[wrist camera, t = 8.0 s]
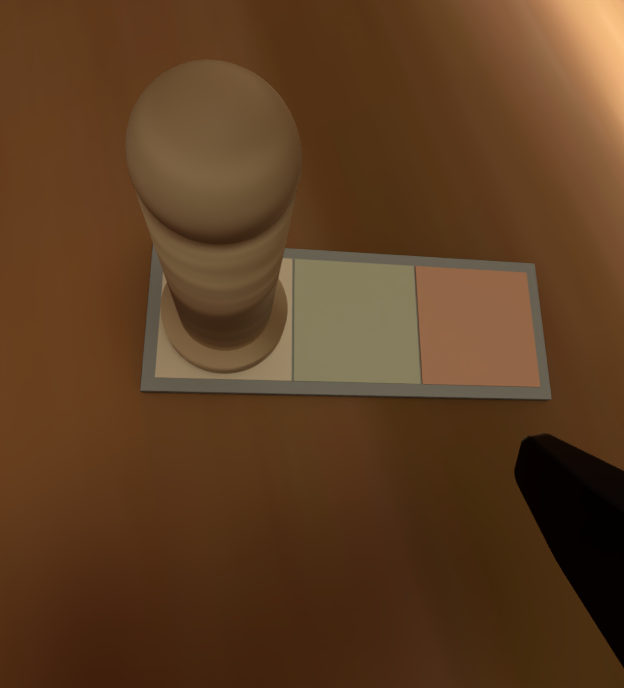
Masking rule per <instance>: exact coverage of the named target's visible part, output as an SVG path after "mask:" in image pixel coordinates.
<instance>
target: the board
mask: <svg viewBox="0 0 624 688" xmlns="http://www.w3.org/2000/svg"><path fill="white" fill-rule="evenodd" d="M279 280H280V281H281V283H282V285H283V288H284V290H285V294H286V297H287V304H288V313H287V320H286V324H285V327H284V331H283V334H282V336H281V339H280V341H279V343H278V345H277V346H276V348H275V349H274V350H273V352H272V353H271V354H270V355H269V356H268V357H267V358H266V359H265V360H264V361H262V362H261V363H259V364H258V365H256V366H254V367H252V368H250V369H248V370H245V371H241V372H237V373H230V374H219V373H212V372H208V371H205V370H202V369H200V368H197V367H195V366H194V365H192V364H190V363H189V362H188V361H186V360H185V359H184V358H183V357H182V356H181V355H180V354H179V353H178V352H177V351H176V350H175V348H174V347H173V345H172V343H171V342H170V340H169V338H168V336H167V334H166V331H165V329H164V326H163V323H162V319H161V310H160V306H161V297H162V293H163V290H164V287H165V285H166V283H167V281H166V278H165V275H164V272H163V270H162V267H161V264H160V261H159V258H158V255H157V252H156V249H155V247H154V244H153V250H152V262H151V273H150V285H149V296H148V308H147V319H146V331H145V343H144V354H143V366H142V377H141V389H140V391H141V392H161V393H210V394H258V395H306V396H354V397H403V398H451V399H499V400H550V399H551V391H550V383H549V375H548V367H547V359H546V351H545V343H544V335H543V327H542V320H541V312H540V304H539V296H538V288H537V280H536V272H535V264H530V263H514V262H498V261H482V260H466V259H450V258H434V257H418V256H402V255H386V254H370V253H353V252H337V251H321V250H305V249H289V248H285V250H284V254H283V259H282V264H281V268H280V273H279Z"/></svg>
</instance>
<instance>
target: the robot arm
mask: <svg viewBox="0 0 624 688" xmlns="http://www.w3.org/2000/svg"><path fill="white" fill-rule="evenodd" d="M514 474H515V479H516V482H517V485H518V487H519V489H520V491H521V493H522V495H523V497H524V499H525V501H526V503H527V505H528V507H529V509H530V511H531V513H532V514H533V516H534V518H535V520H536V522H537V524H538V526H539V528H540V530H541V532H542V534H543V536H544V538H545V540H546V542H547V544H548V546H549V548H550V550H551V552H552V554H553V556H554V557H555V559H556V561H557V563H558V564H559V566H560V568H561V569H562V571H563V573H564V574H565V576H566V578H567V579H568V581H569V582H570V584H571V585H572V587H573V589H574V590H575V592H576V593H577V595H578V597H579V598H580V600H581V601H582V603H583V604H584V606H585V608H586V609H587V611H588V612H589V614H590V616H591V617H592V619H593V620H594V622H595V623H596V625H597V627H598V628H599V630H600V631H601V633H602V635H603V636H604V638H605V639H606V641H607V642H608V644H609V646H610V647H611V649H612V650H613V652H614V654H615V655H616V657H617V658H618V660H619V661H620V663H621V665H622V666H623V668H624V471H623V470H621V469H619V468H617V467H615V466H613V465H611V464H609V463H607V462H605V461H603V460H601V459H599V458H597V457H595V456H593V455H591V454H589V453H587V452H585V451H583V450H581V449H579V448H577V447H575V446H573V445H571V444H569V443H567V442H565V441H563V440H561V439H558V438H556V437H554V436H552V435H550V434H547V433H541V434H536V435H531V436H527V437H525V438H524V439H523V440H522V442H521V445H520V449H519V453H518V457H517V461H516V465H515V469H514Z"/></svg>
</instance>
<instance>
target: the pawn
mask: <svg viewBox="0 0 624 688" xmlns="http://www.w3.org/2000/svg"><path fill="white" fill-rule="evenodd" d="M125 151H126V161H127V166H128V170H129V174H130V178H131V180H132V183H133V185H134V188H135V190H136V193H137V197H138V201H139V204H140V207H141V209H142V212H143V215H144V218H145V221H146V224H147V227H148V229H149V232H150V235H151V238H152V241H153V244H154V247H155V249H156V252H157V255H158V258H159V261H160V264H161V267H162V270H163V272H164V275H165V278H166V281H167V283H166V285H165V287H164V290H163V293H162V297H161V306H160V310H161V319H162V323H163V326H164V329H165V331H166V334H167V336H168V338H169V340H170V342H171V343H172V345H173V347H174V348H175V350H176V351H177V352H178V353H179V354H180V355H181V356H182V357H183V358H184V359H185V360H186V361H188V362H189V363H190V364H192V365H194V366H195V367H197V368H200V369H202V370H205V371H208V372H212V373H219V374H230V373H237V372H241V371H245V370H248V369H250V368H252V367H254V366H256V365H258V364H259V363H261V362H262V361H264V360H265V359H266V358H267V357H268V356H269V355H270V354H271V353H272V352H273V350H274V349H275V348H276V346H277V345H278V343H279V341H280V339H281V336H282V334H283V331H284V327H285V324H286V320H287V313H288V304H287V297H286V294H285V290H284V288H283V285H282V283H281V281H280V280H279V273H280V268H281V264H282V259H283V254H284V250H285V245H286V240H287V236H288V231H289V226H290V222H291V217H292V212H293V208H294V203H295V198H296V189H297V186H298V183H299V179H300V173H301V164H302V151H301V143H300V138H299V134H298V130H297V127H296V124H295V121H294V119H293V117H292V115H291V113H290V111H289V109H288V107H287V106H286V104H285V103H284V101H283V100H282V98H281V97H280V96H279V94H278V93H277V92H276V91H275V90H274V89H273V88H272V87H271V86H270V85H269V84H268V83H267V82H266V81H265V80H263V79H262V78H261V77H259V76H258V75H257V74H255V73H253V72H251V71H250V70H248V69H245V68H243V67H241V66H238V65H236V64H233V63H229V62H225V61H220V60H196V61H191V62H186V63H183V64H181V65H178V66H175V67H173V68H171V69H169V70H167V71H165V72H164V73H162V74H161V75H159V76H158V77H157V78H156V79H155V80H154V81H152V82H151V83H150V84H149V85H148V86H147V88H146V89H145V90H144V91H143V92H142V94H141V95H140V97H139V99H138V100H137V102H136V104H135V106H134V108H133V110H132V113H131V115H130V118H129V123H128V127H127V131H126V141H125Z"/></svg>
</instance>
